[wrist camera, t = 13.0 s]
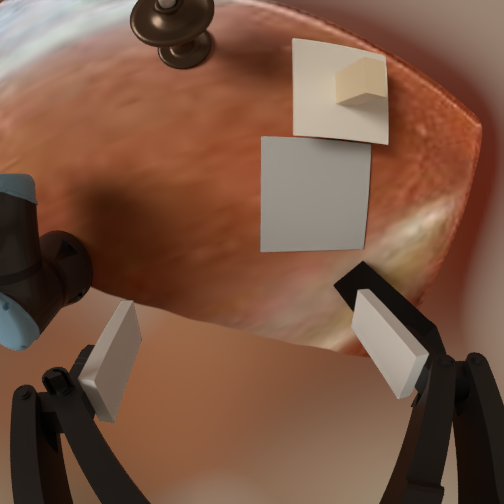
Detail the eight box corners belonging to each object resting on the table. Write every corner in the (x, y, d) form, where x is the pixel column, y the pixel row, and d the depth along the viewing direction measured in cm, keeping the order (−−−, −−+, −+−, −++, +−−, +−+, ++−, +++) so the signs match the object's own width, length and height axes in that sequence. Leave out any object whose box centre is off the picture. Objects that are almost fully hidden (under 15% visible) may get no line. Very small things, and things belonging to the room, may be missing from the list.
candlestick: (213, 17, 37) (207, -130, 4) (219, 68, 40) (216, -74, 7) (152, 28, 36) (73, -94, 3) (155, 79, 40) (48, -23, 7)
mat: (260, 251, 52) (260, 252, 51) (261, 136, 45) (261, 136, 44) (361, 248, 53) (363, 249, 53) (369, 144, 47) (370, 144, 46)
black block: (350, 308, 58) (416, 401, 32) (332, 284, 55) (402, 380, 29) (378, 285, 57) (458, 366, 30) (362, 259, 54) (449, 339, 28)
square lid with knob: (292, 135, 40) (315, 130, 30) (291, 39, 34) (311, 11, 24) (385, 144, 41) (425, 146, 31) (383, 57, 36) (419, 40, 26)
